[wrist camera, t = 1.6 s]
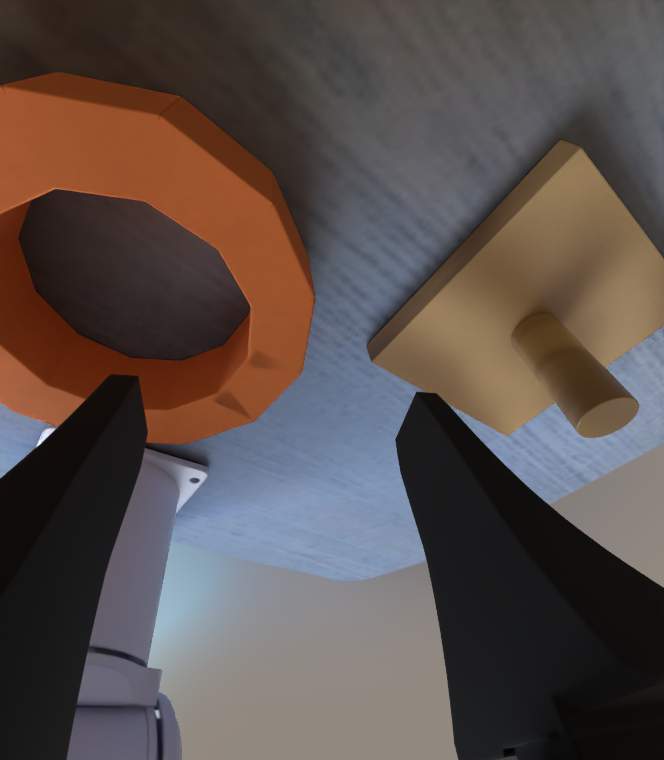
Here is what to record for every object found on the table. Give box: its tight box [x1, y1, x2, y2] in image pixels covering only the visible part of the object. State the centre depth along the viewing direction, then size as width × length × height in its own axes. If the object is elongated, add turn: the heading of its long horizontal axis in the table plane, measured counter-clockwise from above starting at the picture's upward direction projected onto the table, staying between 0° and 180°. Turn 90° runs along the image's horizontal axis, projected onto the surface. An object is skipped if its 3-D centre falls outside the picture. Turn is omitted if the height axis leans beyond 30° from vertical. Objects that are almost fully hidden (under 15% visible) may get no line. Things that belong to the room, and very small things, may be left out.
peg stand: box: [367, 139, 664, 438], centre depth 16 cm, size 10×10×6 cm
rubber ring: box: [0, 72, 315, 444], centre depth 13 cm, size 12×12×3 cm
